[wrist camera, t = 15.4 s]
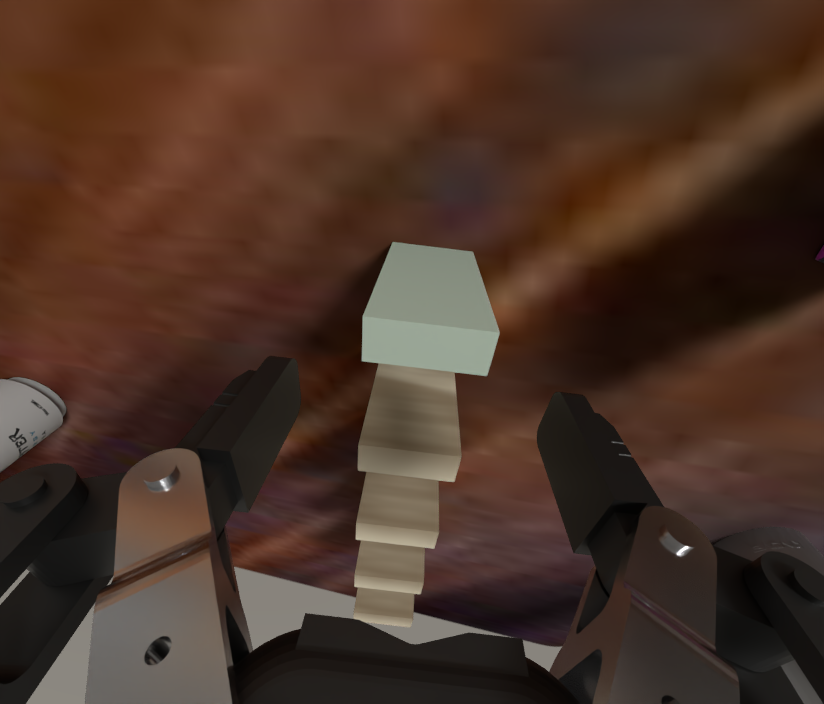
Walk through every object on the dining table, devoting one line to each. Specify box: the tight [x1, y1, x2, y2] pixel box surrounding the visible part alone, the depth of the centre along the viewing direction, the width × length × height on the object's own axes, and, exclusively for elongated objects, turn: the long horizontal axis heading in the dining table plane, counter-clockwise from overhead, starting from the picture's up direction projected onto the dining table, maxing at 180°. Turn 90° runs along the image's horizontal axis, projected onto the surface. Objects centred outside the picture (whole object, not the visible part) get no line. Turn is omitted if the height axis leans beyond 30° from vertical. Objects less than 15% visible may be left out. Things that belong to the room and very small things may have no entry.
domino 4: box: [354, 540, 425, 594], centre depth 28 cm, size 2×5×10 cm, turn 84°
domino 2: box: [358, 363, 462, 482], centre depth 20 cm, size 2×5×10 cm, turn 84°
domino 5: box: [354, 587, 414, 627], centre depth 32 cm, size 2×5×10 cm, turn 84°
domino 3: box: [356, 472, 439, 549], centre depth 24 cm, size 2×5×10 cm, turn 84°
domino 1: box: [362, 242, 500, 376], centre depth 16 cm, size 2×5×10 cm, turn 84°
